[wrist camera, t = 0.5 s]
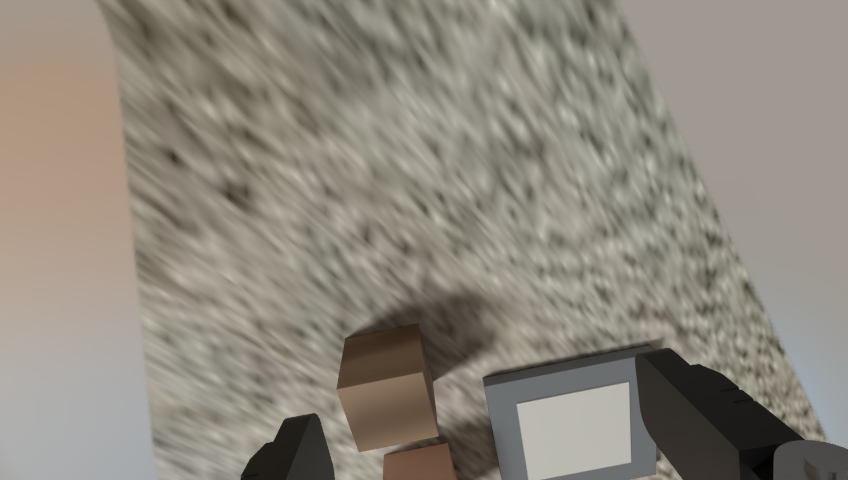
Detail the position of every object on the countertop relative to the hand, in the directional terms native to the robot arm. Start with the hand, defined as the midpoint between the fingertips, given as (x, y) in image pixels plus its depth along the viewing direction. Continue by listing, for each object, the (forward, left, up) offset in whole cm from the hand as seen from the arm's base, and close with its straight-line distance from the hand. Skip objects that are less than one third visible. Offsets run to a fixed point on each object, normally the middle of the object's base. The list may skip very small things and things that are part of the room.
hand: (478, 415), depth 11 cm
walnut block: (+11, -5, -17) cm, 21 cm away
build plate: (+20, +7, -17) cm, 27 cm away
